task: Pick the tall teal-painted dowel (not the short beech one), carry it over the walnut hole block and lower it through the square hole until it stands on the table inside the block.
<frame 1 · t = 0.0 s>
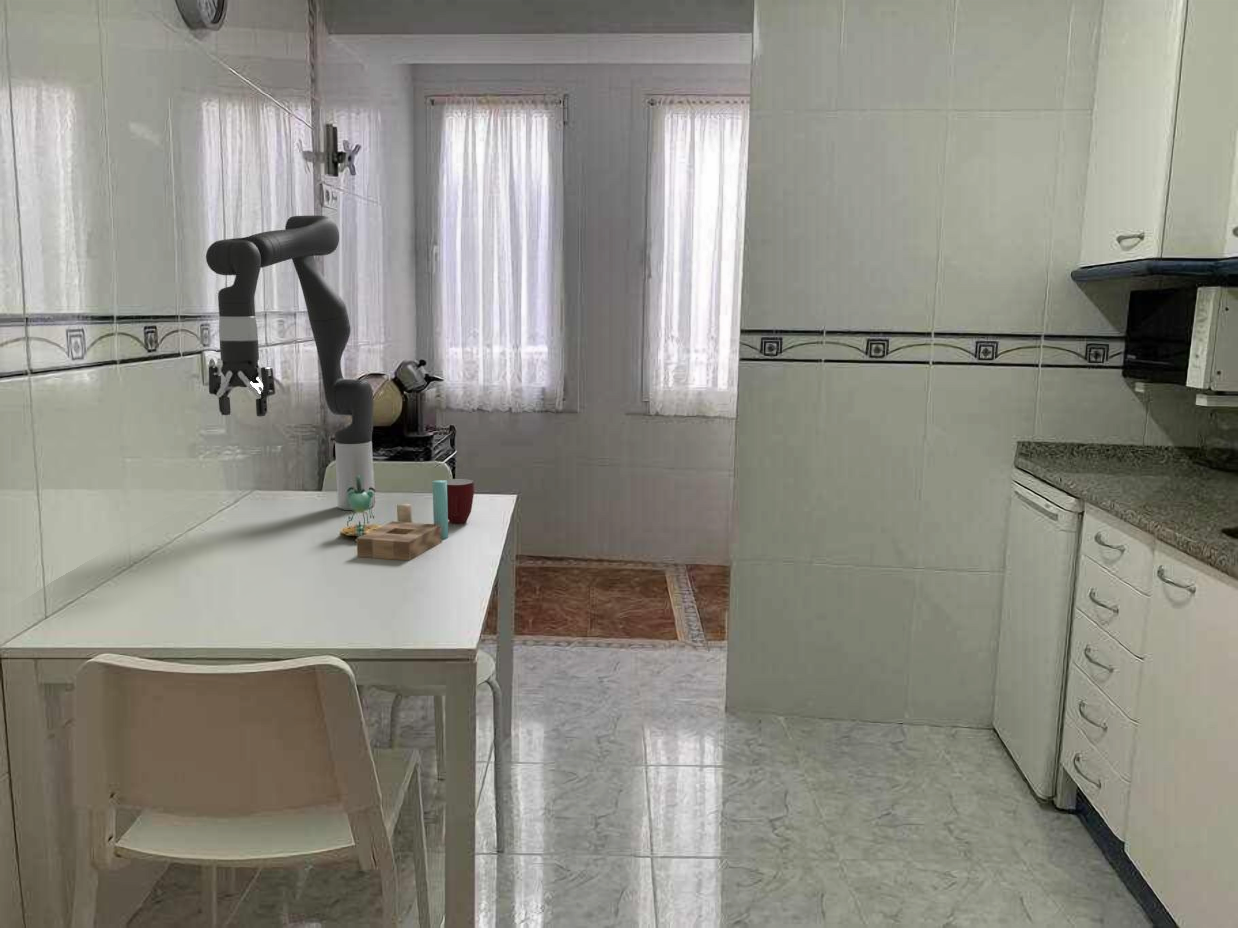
hand: (243, 415, 205), 29 cm above the table, fingers open, 8 cm apart
short pin: (405, 534, 224), on the table
mug: (457, 524, 235), on the table
hole block: (400, 549, 211), on the table
long pin: (441, 537, 221), on the table
teal creature figurine: (360, 536, 223), on the table
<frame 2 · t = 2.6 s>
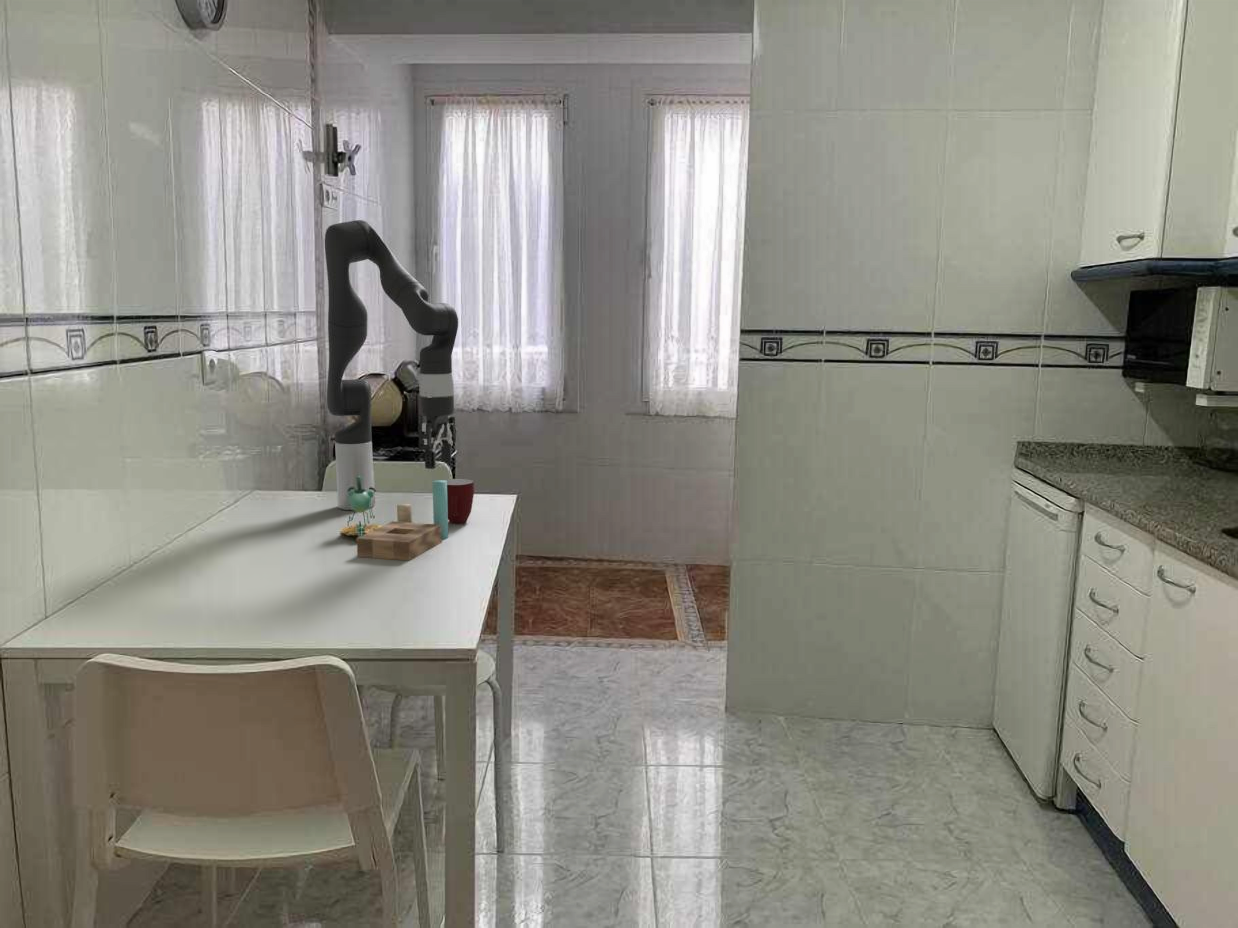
hand: (438, 465, 218), 17 cm above the table, fingers open, 8 cm apart
nothing on the table moved.
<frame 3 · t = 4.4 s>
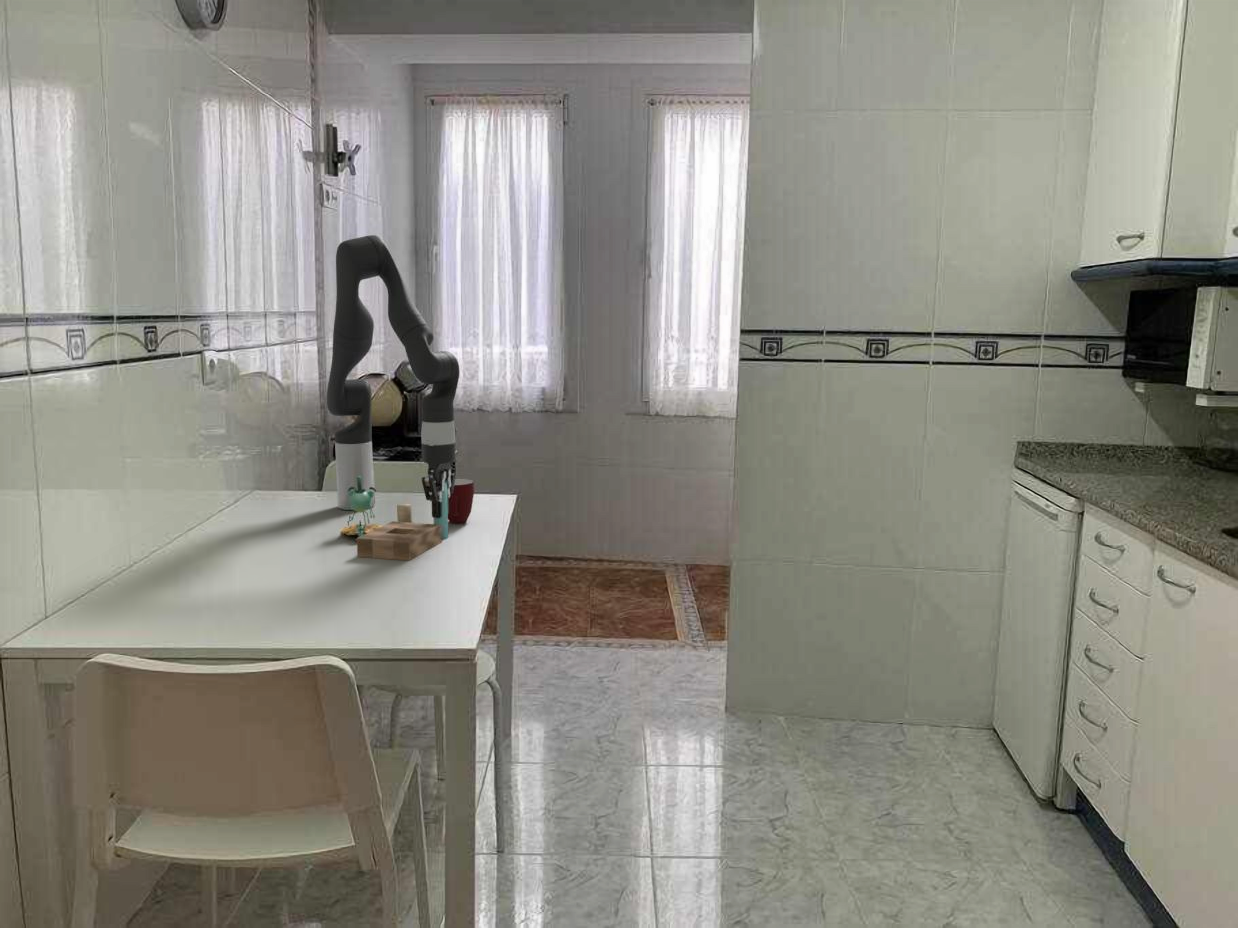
hand: (440, 515, 220), 5 cm above the table, fingers closed on long pin, 3 cm apart
long pin: (441, 537, 221), on the table, touching gripper
everything else where it was.
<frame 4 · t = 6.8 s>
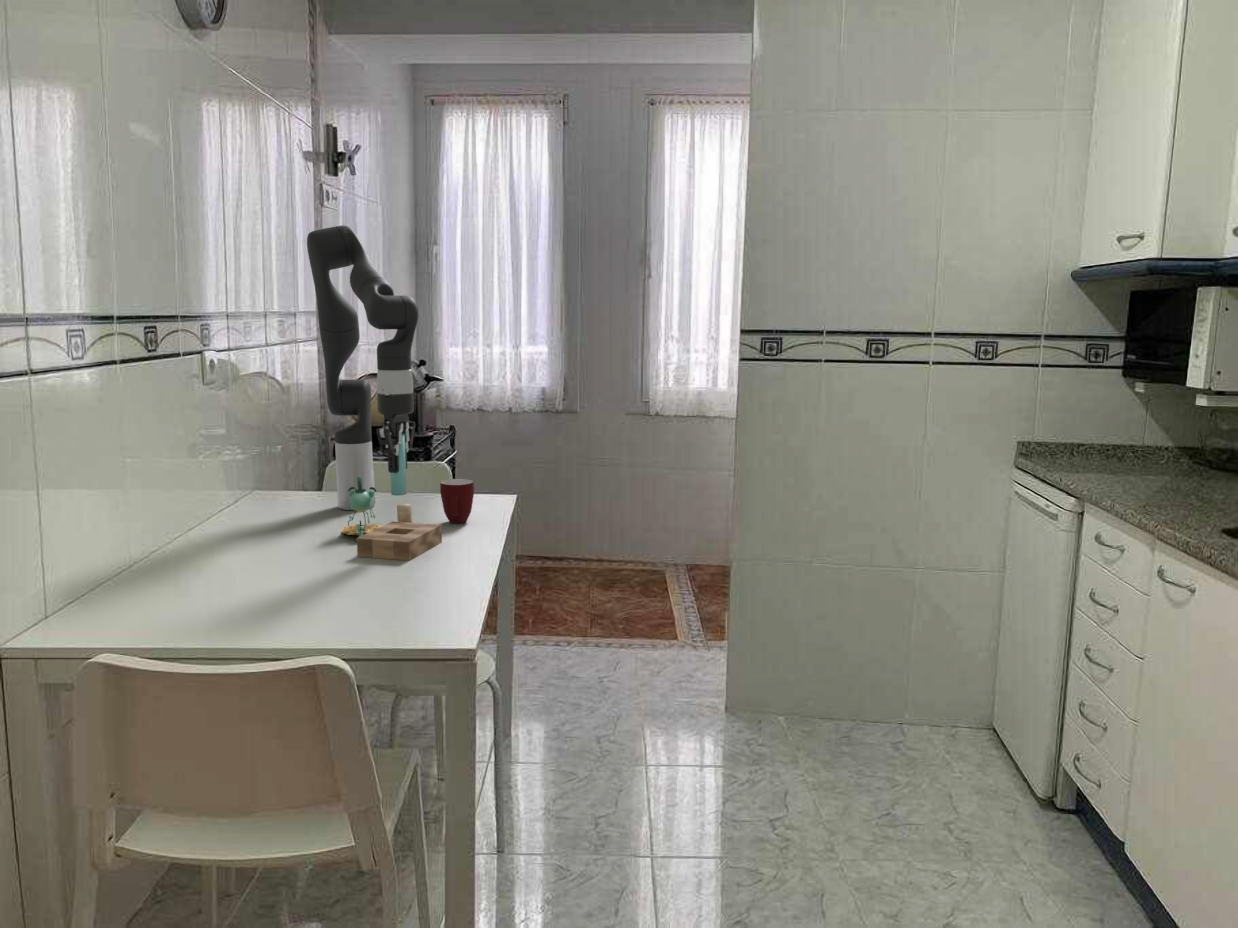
hand: (397, 470, 208), 17 cm above the table, fingers closed on long pin, 3 cm apart
long pin: (398, 494, 209), point 12 cm above the table, touching gripper
everything else where it was.
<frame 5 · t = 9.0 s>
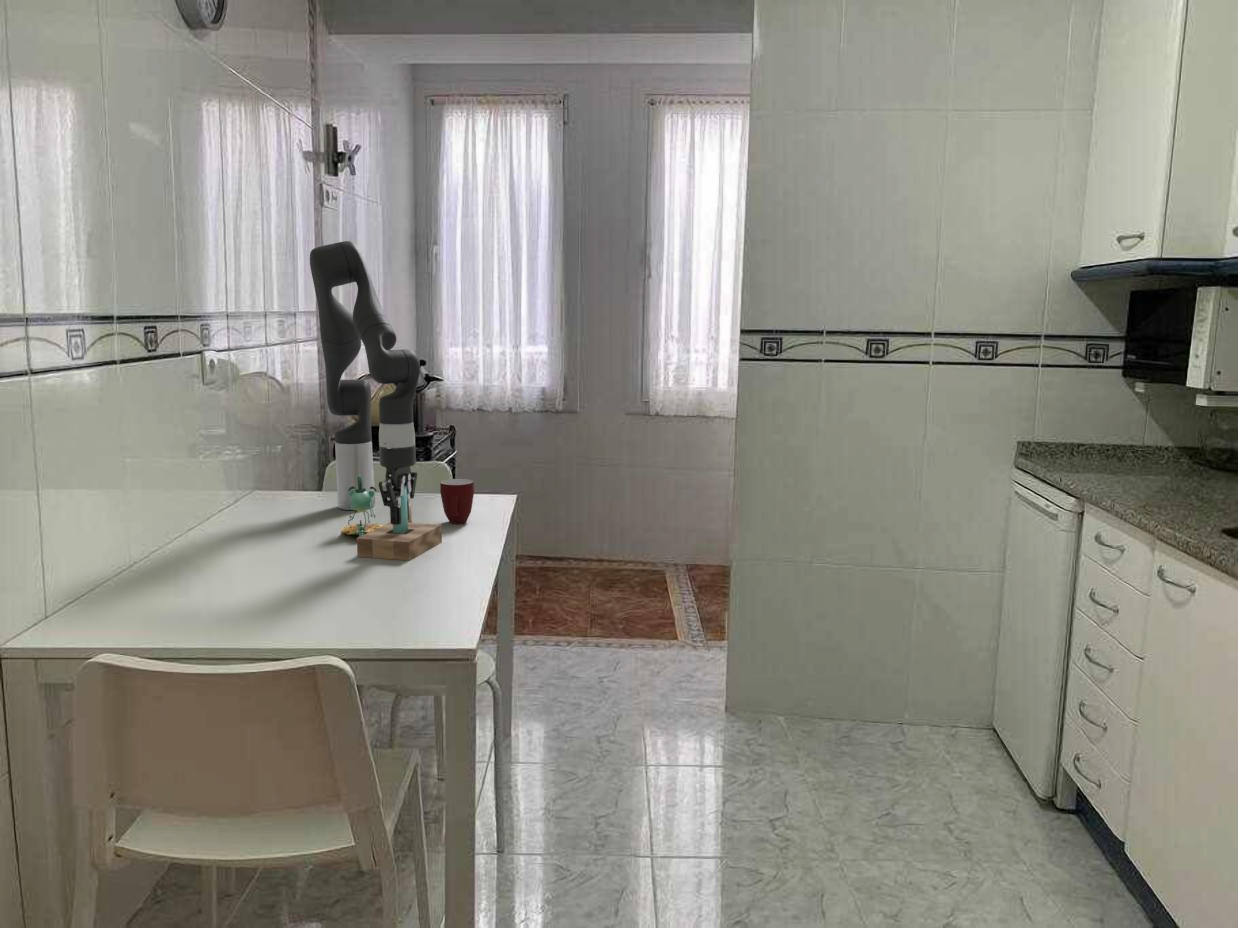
hand: (399, 521, 210), 6 cm above the table, fingers closed on long pin, 3 cm apart
long pin: (400, 544, 211), point 1 cm above the table, touching gripper
everything else where it was.
when the fingers open (6 cm above the table, at t = 9.6 s): long pin stays where it is, resting in hole block.
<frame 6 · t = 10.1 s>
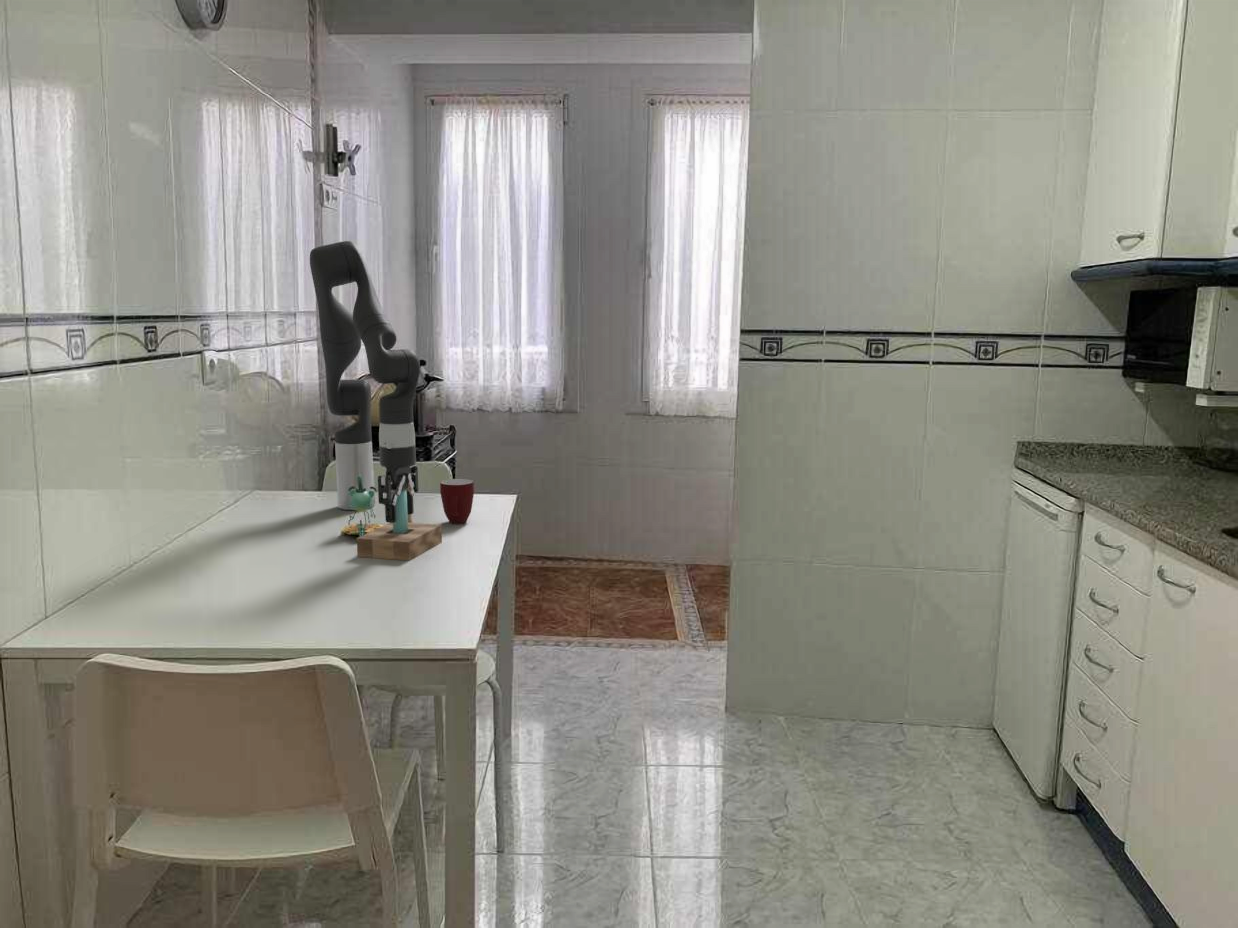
hand: (399, 517, 210), 7 cm above the table, fingers open, 7 cm apart
long pin: (401, 549, 211), resting in hole block
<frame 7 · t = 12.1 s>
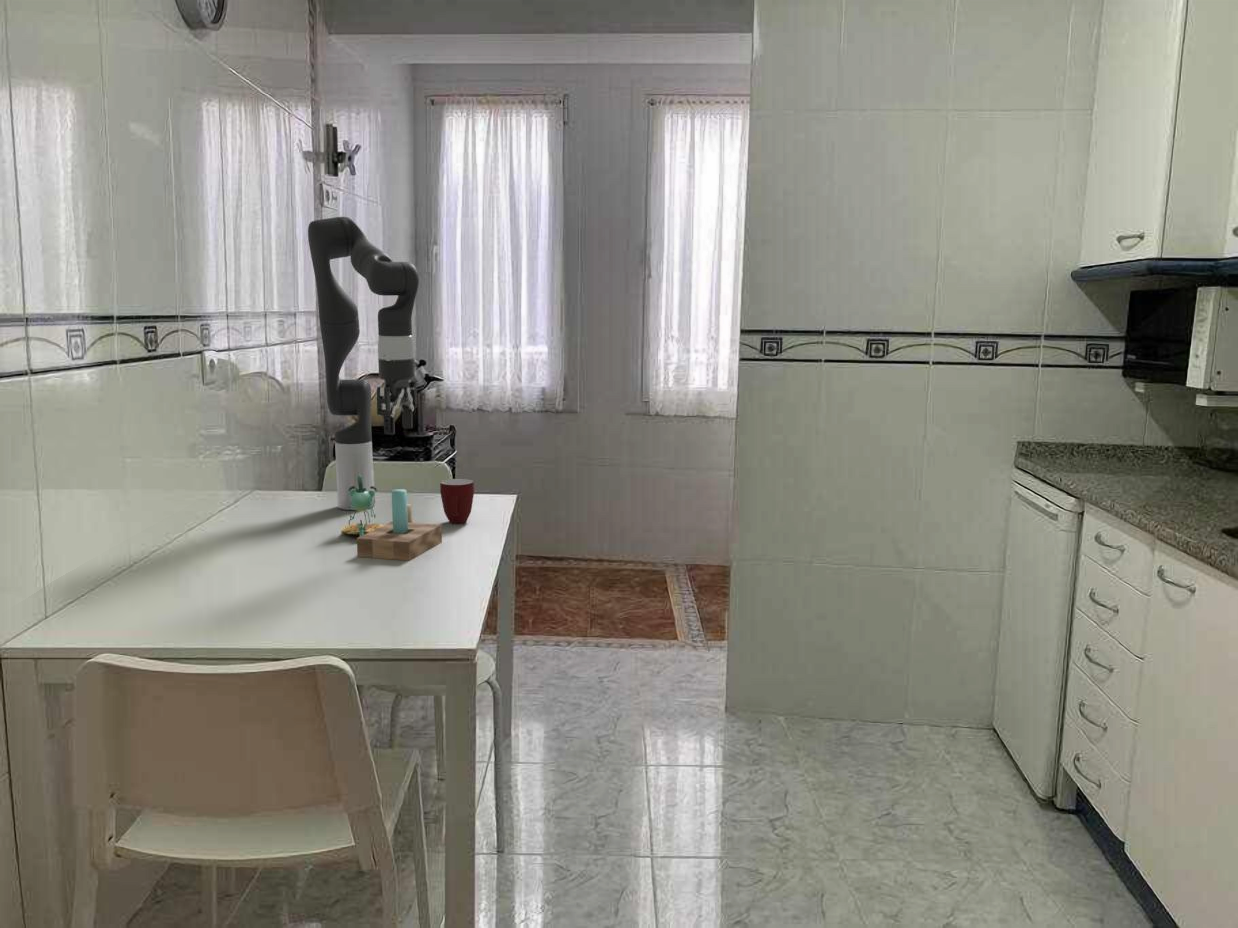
hand: (398, 431, 211), 25 cm above the table, fingers open, 8 cm apart
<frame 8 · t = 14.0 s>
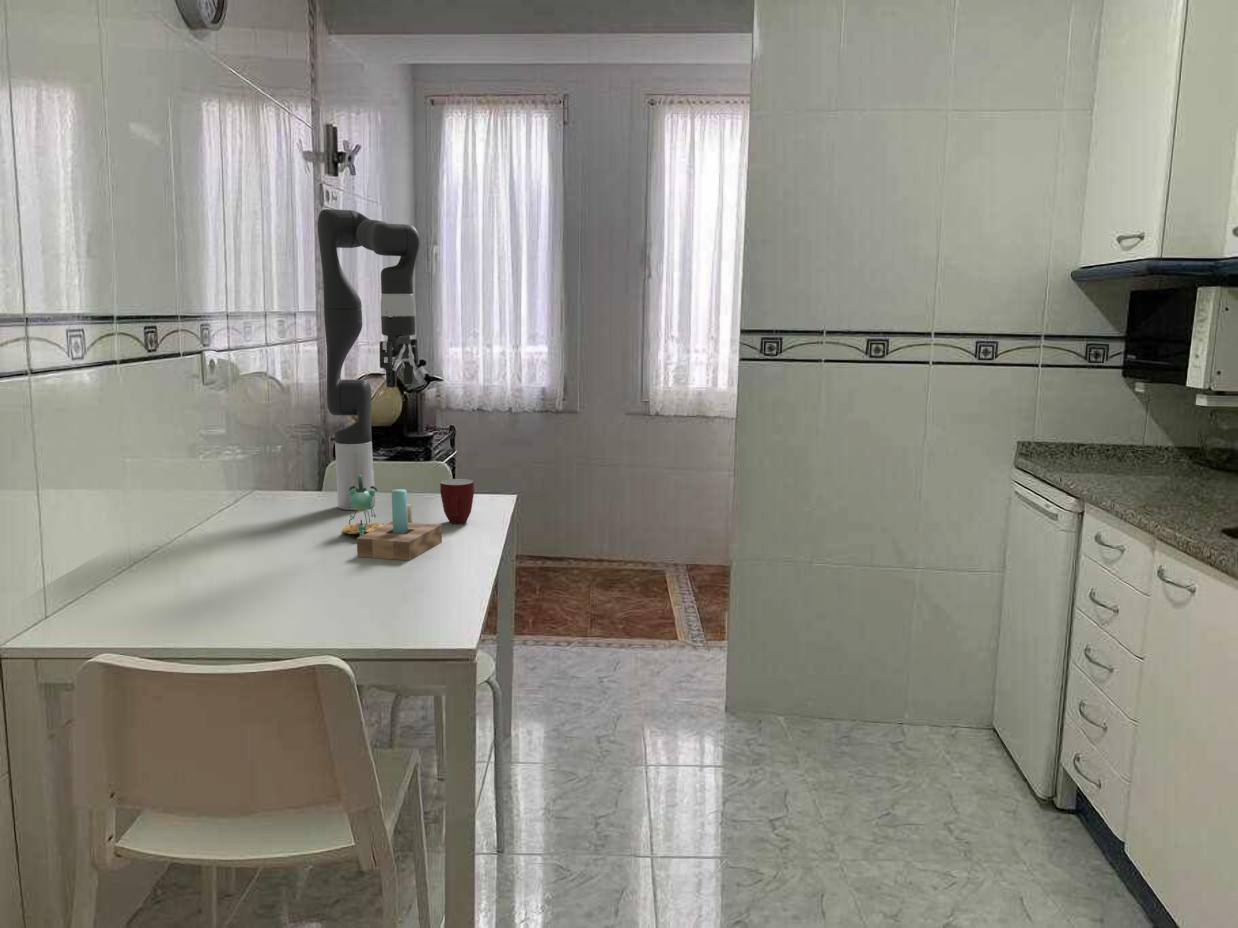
hand: (400, 385, 222), 34 cm above the table, fingers open, 8 cm apart
at the end: long pin 0.0 cm off-centre on the hole block, point 0.0 cm above the hole block's base; long pin tilted 0°; short pin moved 0.0 cm from its start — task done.
